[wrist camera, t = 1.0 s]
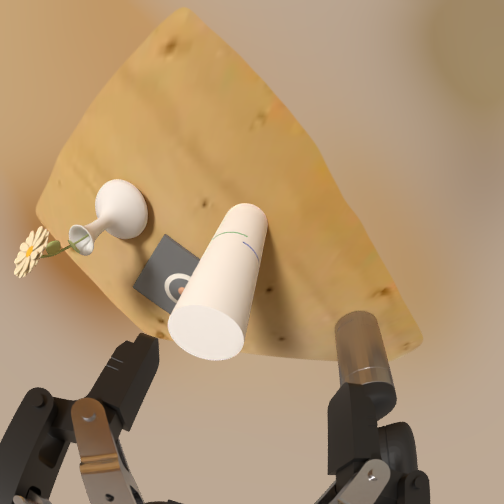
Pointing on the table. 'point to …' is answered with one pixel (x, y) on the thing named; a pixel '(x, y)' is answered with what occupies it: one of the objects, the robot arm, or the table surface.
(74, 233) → the flower in vase
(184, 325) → the cylindrical container
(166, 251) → the pad
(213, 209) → the table surface
